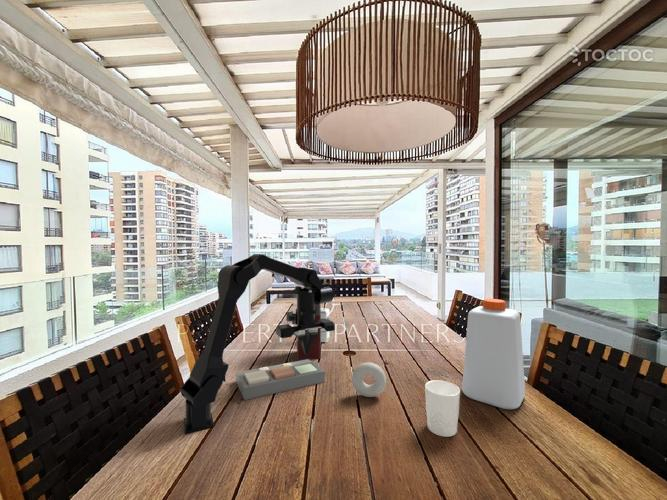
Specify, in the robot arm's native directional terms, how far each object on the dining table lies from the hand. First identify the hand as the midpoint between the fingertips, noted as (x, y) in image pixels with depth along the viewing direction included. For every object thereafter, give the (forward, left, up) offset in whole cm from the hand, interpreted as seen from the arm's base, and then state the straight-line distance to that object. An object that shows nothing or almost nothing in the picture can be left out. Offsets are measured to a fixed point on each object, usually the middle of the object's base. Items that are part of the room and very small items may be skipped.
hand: (306, 353), depth 101 cm
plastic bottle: (-35, -45, -9) cm, 58 cm away
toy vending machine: (+19, -9, -9) cm, 23 cm away
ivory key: (0, +16, -6) cm, 17 cm away
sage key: (0, 0, -7) cm, 7 cm away
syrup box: (+34, -22, -9) cm, 41 cm away
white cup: (-40, -19, -9) cm, 45 cm away
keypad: (+2, +8, -8) cm, 12 cm away
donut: (-19, -12, -9) cm, 24 cm away
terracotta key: (0, +8, -6) cm, 10 cm away
